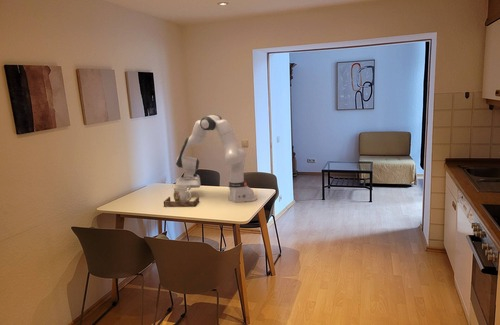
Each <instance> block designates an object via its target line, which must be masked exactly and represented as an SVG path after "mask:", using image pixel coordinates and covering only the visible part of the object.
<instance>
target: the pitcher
mask: <svg viewBox="0 0 500 325" xmlns="http://www.w3.org/2000/svg"><path fill="white" fill-rule="evenodd" d="M171 186H172V188H173V190H174V191H173V201H192V192H191V191H190V190H189V191H187V189H188V188H187V186H184V185H175V184H173V185H171Z"/></svg>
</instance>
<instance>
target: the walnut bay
mask: <svg viewBox="0 0 500 325" xmlns="http://www.w3.org/2000/svg"><path fill="white" fill-rule="evenodd" d="M199 203H200V197H199V196H197V197H196V198H195V199H194V200H190V201H175V200H173V201H172V200H171V196H168V197H167V198H166V199H164V200H163V208H183V207H184V208H187V207H188V208H189V207H190V208H193V207H194V208H195V207H196V206H197V205H198V204H199Z"/></svg>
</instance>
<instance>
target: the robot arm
mask: <svg viewBox="0 0 500 325" xmlns="http://www.w3.org/2000/svg"><path fill="white" fill-rule="evenodd" d="M214 130H216V132H217V134H218V136H219V139H220V142H221V143H222V147H223V152H224V161H225V163H226V164H227V165H228V166H230V168H229V171H228V172H229V173H228V175H229V176H228V177H229V181H228V188H229V192H228V194H229V195H228V201H231V202H234V203H239V202H240V203H241V202H242V203H243V202H245V201H247V202H255V201H257V200H258V196H257V195H255V193H254V192H255V191H254V190H253V189H252V188H251V187H249V186H248V185H247V181H245V180H244V179H245V178H244V176H245V175H244V170H245V162H246V160H245V159H246V155H247V154H246V152H245V150H244V149H242V148H238V145H237V144H238V143H237V142H238V141H237V138H236V136H235V135H236V134H235V133H234V131H233V129H232V126H231V125H230V122H229V121H228V120H226V119H224V118H223V119H222V117H221V116H220V115H219V114H210V115H206V116H203V117H202V118H201V119H198V120H196V121H195V123H194V126H193V128H192V131H191V134H190V136H188V137H186V139H185V140H184V143H183V145H182V147H181V150H180V152H179V154H178V156H177V157H176V159H175V165H176V167H178V168H179V169H181V168H182V169H184V173H183V176H180V177H179V176H178V177H176V179H175V184H174V185H184V186H187V191H190V190H192V189H193V188H194V189H196V188H197V189H199V188H201V177H200V175H199V174H197V173H196V172H197V170H199V167H200V165H199V164H200V160H199V159H198V158H197V157H192V156H186V153H187V150H188V148H190V147H193V146H199V145H201V144H203V143H204V142H205V139H206V137H207V133H208V131H214ZM245 203H246V202H245Z"/></svg>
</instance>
